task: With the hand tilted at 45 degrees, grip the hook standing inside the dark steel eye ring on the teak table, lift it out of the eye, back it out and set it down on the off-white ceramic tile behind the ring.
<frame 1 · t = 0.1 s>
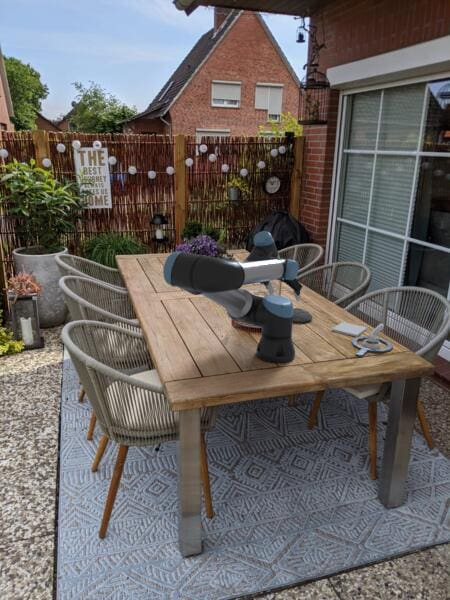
hand: (285, 296, 201), 15 cm above the table, tool tilted 35°, fingers open, 13 cm apart
hook: (371, 345, 187), on the table
tile: (349, 330, 203), on the table
eye ring: (371, 345, 187), on the table
flying saucer: (296, 319, 218), on the table
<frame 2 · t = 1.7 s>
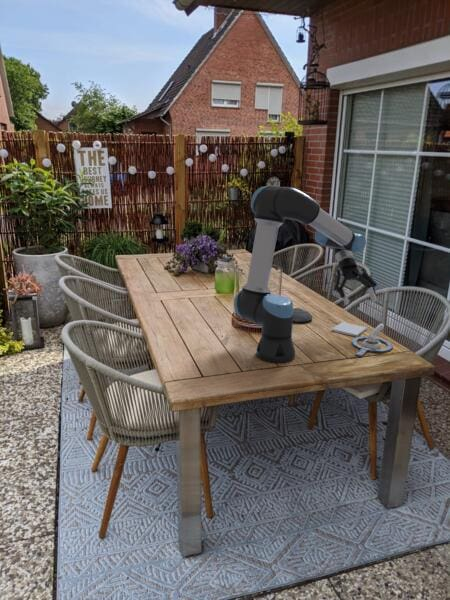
hand: (361, 302, 192), 15 cm above the table, tool tilted 45°, fingers open, 13 cm apart
nothing on the table moved.
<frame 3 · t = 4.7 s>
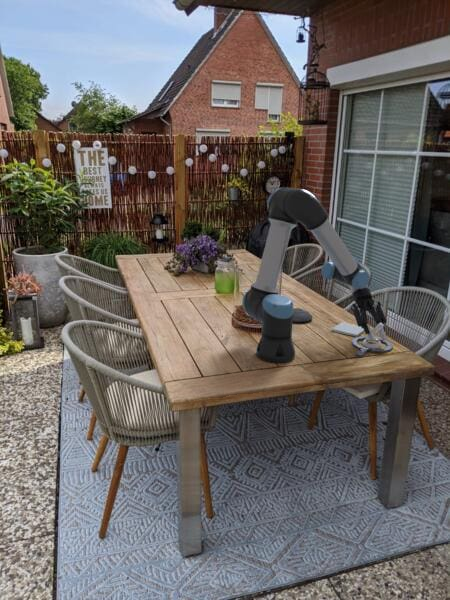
hand: (378, 340, 182), 4 cm above the table, tool tilted 45°, fingers closed on hook, 5 cm apart
hook: (371, 345, 187), on the table, touching gripper
everything else where it was.
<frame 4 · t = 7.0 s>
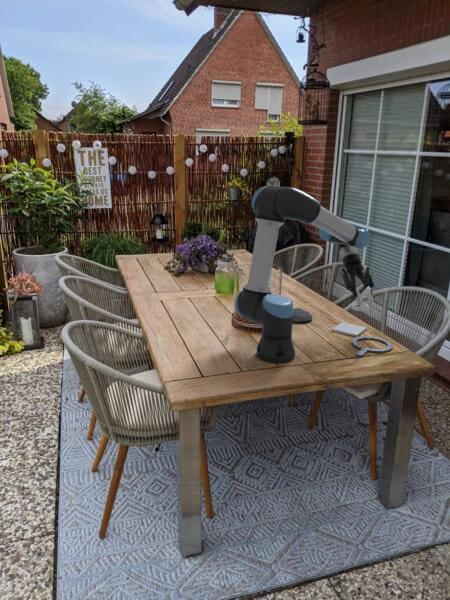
hand: (365, 303, 190), 16 cm above the table, tool tilted 45°, fingers closed on hook, 5 cm apart
hook: (360, 308, 195), point 12 cm above the table, touching gripper
everything else where it was.
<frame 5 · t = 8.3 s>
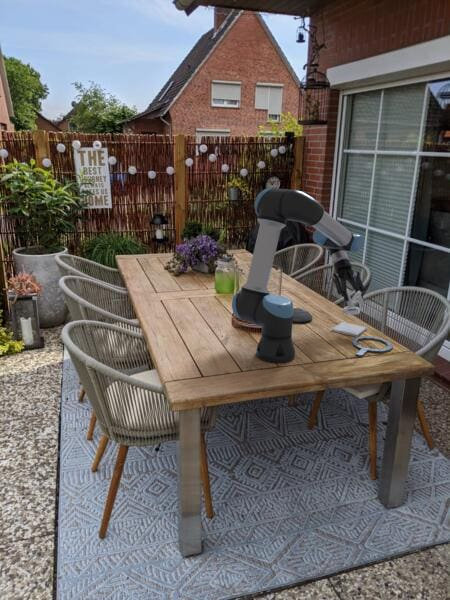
hand: (356, 306, 197), 12 cm above the table, tool tilted 45°, fingers closed on hook, 5 cm apart
hook: (351, 312, 201), point 9 cm above the table, touching gripper
everything else where it was.
when the fingers open (6 cm above the table, at t = 9.6 s): hook drops 1 cm, resting on tile.
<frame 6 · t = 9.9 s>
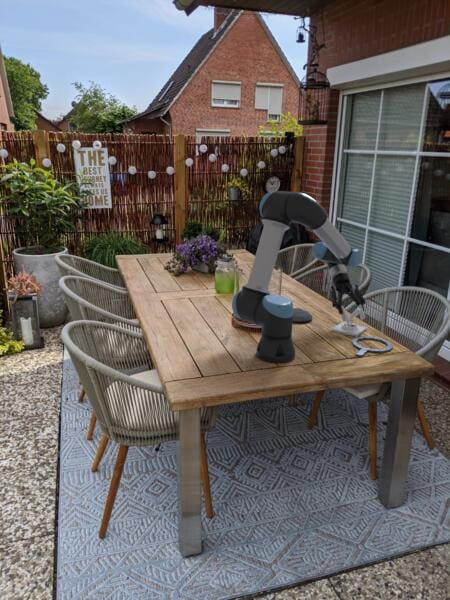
hand: (354, 319, 199), 6 cm above the table, tool tilted 45°, fingers open, 8 cm apart
hook: (349, 328, 203), point 1 cm above the table, touching tile
everything else where it was.
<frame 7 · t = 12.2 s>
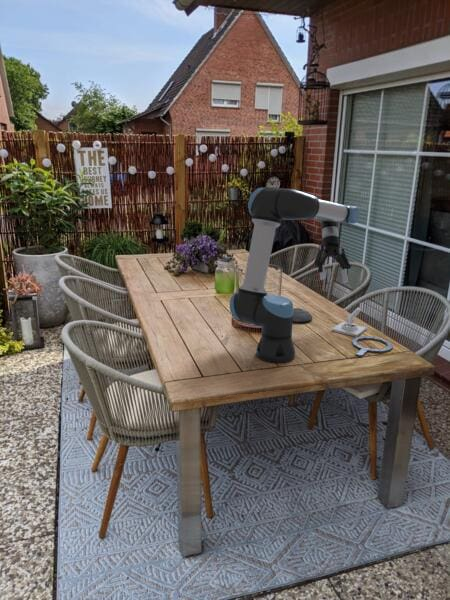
hand: (334, 281, 205), 21 cm above the table, tool tilted 30°, fingers open, 13 cm apart
nothing on the table moved.
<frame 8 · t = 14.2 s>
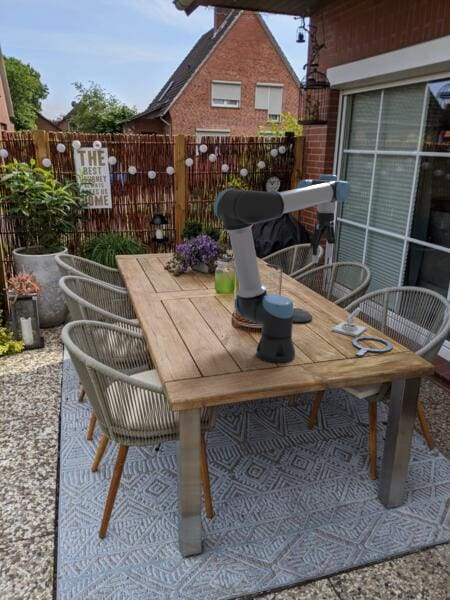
hand: (321, 260, 198), 32 cm above the table, tool pointing down, fingers open, 13 cm apart
nothing on the table moved.
at the end: hook inside the target area on the tile (0.1 cm from its centre), point 0.8 cm above the tile's base; hook tilted 0°; the gripper is holding nothing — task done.
